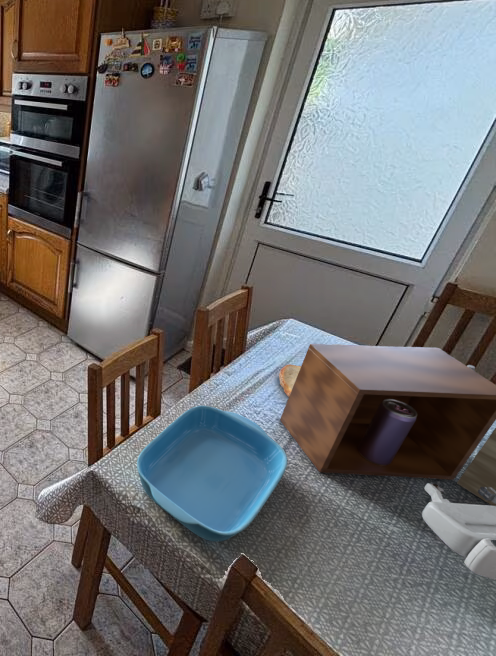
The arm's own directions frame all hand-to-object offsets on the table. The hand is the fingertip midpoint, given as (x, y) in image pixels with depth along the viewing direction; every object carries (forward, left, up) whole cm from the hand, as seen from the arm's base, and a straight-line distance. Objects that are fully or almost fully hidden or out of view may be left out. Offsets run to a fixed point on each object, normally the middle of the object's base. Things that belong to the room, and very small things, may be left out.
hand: (456, 487), depth 78 cm
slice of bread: (0, -39, -11) cm, 41 cm away
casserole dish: (+41, -7, -11) cm, 43 cm away
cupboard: (0, -19, -11) cm, 22 cm away
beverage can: (0, -16, -10) cm, 19 cm away
